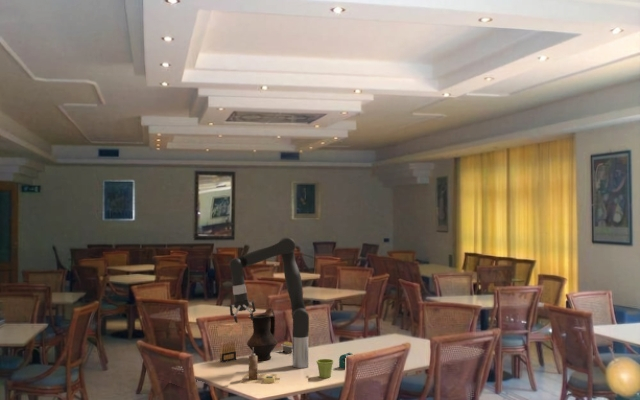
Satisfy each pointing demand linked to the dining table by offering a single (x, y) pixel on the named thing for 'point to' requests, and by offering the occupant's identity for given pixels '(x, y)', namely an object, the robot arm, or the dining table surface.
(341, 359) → the bracket
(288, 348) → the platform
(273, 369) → the dining table surface
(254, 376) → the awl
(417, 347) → the dining table surface
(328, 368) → the plant pot
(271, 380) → the stud finder
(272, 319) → the jug
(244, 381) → the plywood panel
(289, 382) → the dining table surface
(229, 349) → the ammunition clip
